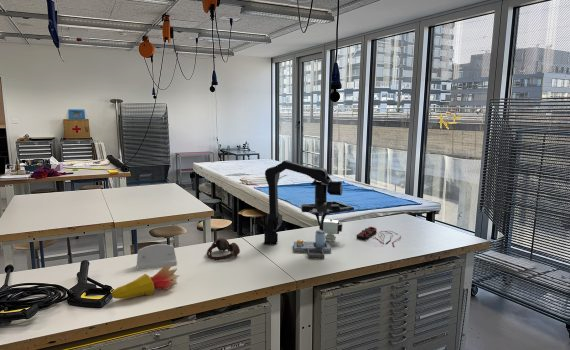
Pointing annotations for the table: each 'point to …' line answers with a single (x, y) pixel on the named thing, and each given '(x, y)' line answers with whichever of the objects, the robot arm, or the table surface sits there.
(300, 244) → the plunger
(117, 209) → the table surface
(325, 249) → the housing
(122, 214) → the table surface
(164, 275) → the torch
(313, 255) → the tray
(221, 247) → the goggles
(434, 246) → the table surface
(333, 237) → the pneumatic valve
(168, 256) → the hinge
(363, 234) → the multimeter with leads
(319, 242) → the cartridge
